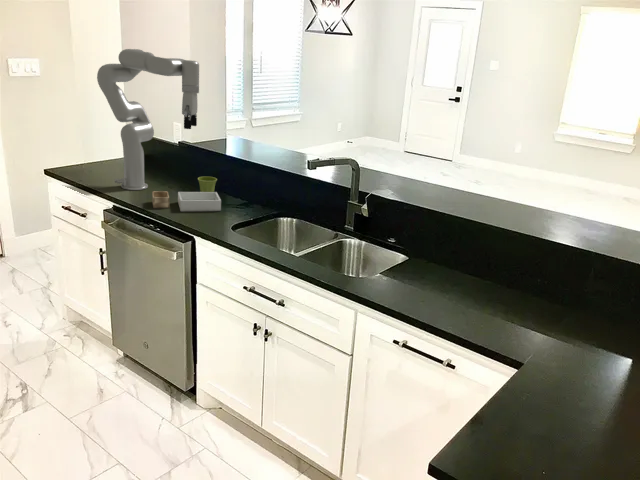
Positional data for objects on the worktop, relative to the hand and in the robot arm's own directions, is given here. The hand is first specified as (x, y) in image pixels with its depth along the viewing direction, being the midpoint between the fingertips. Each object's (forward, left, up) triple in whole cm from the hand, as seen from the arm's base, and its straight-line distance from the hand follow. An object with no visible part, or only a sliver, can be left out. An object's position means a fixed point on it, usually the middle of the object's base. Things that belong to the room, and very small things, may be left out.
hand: (190, 127), depth 251 cm
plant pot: (+9, +5, -35) cm, 36 cm away
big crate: (+3, -13, -34) cm, 37 cm away
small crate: (-14, -10, -34) cm, 38 cm away
